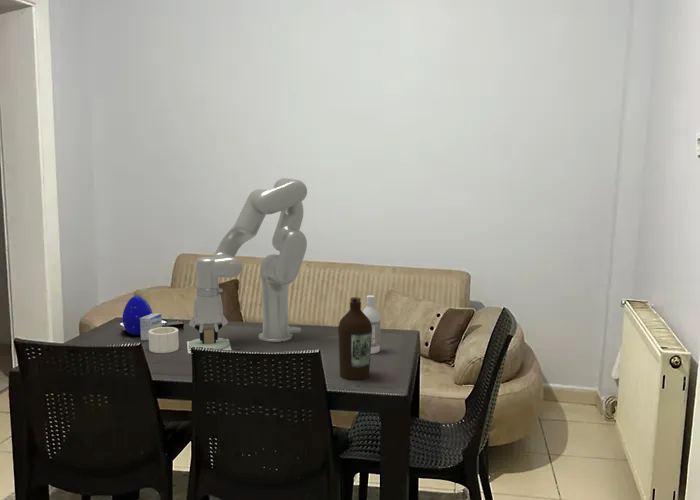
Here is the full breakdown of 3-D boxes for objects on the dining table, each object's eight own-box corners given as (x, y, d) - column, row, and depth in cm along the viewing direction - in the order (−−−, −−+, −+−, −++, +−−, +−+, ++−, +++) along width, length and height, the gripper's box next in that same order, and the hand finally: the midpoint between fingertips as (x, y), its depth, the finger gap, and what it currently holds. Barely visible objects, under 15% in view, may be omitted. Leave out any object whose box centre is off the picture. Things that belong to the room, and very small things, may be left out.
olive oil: (331, 372, 224) (332, 296, 221) (360, 368, 230) (361, 293, 226) (348, 382, 215) (349, 303, 211) (377, 377, 220) (378, 299, 217)
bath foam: (382, 353, 246) (383, 297, 243) (363, 354, 244) (363, 298, 241) (376, 347, 252) (377, 293, 249) (357, 349, 251) (358, 294, 248)
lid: (227, 339, 259) (226, 323, 258) (230, 350, 246) (230, 333, 245) (188, 341, 256) (187, 325, 255) (189, 352, 242) (189, 335, 241)
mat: (228, 340, 260) (228, 339, 260) (231, 352, 245) (231, 350, 245) (186, 342, 256) (186, 341, 256) (188, 354, 242) (188, 353, 242)
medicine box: (151, 341, 258) (150, 318, 256) (140, 340, 259) (139, 317, 257) (162, 335, 265) (161, 313, 264) (152, 334, 266) (151, 312, 265)
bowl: (178, 345, 253) (177, 326, 252) (178, 353, 243) (178, 333, 242) (149, 346, 250) (149, 327, 249) (149, 355, 241) (148, 335, 240)
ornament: (156, 331, 271) (155, 293, 269) (147, 338, 262) (146, 298, 259) (128, 330, 272) (126, 292, 269) (118, 337, 263) (117, 298, 260)
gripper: (230, 288, 253) (231, 338, 256) (183, 290, 249) (184, 340, 252) (232, 293, 246) (233, 343, 249) (184, 295, 242) (185, 346, 245)
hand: (208, 341), depth 250 cm, fingers closed on lid, 3 cm apart
